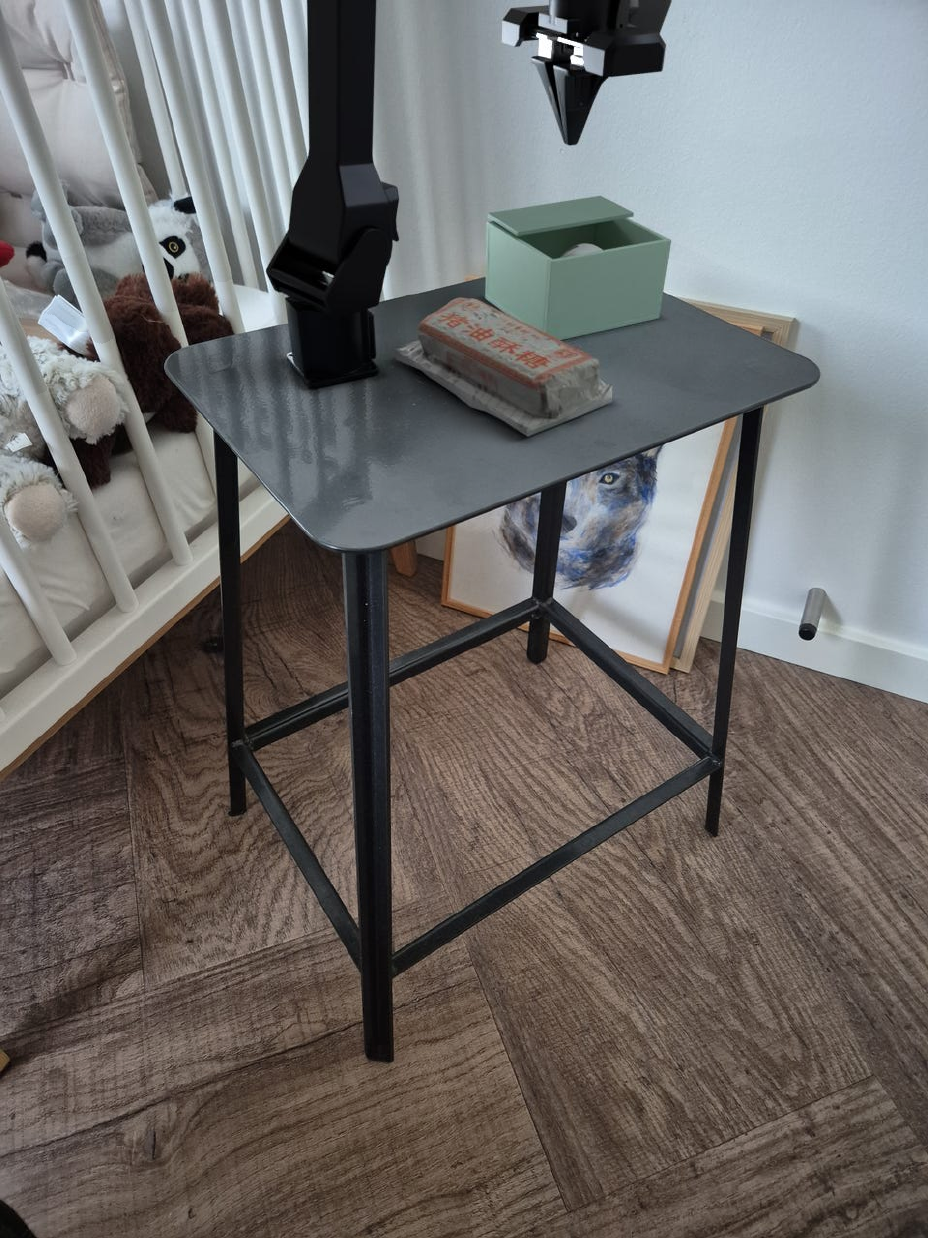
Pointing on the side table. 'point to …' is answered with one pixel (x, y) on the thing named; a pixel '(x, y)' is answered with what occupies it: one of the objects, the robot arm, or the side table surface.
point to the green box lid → (559, 215)
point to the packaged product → (506, 366)
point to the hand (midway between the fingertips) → (570, 144)
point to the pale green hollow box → (577, 276)
